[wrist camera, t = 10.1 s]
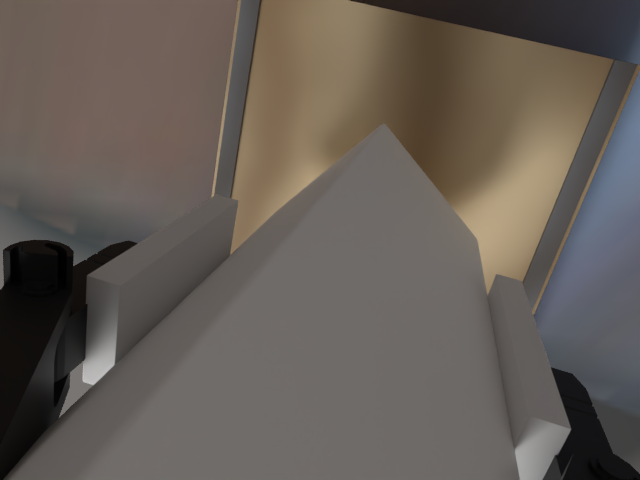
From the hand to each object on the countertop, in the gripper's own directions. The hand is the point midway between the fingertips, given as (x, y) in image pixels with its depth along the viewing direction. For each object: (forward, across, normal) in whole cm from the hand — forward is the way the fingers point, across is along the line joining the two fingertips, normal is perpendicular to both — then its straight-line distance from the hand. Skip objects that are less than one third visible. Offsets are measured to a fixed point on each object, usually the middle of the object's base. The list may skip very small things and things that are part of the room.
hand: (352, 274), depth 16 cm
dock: (+11, 0, 0) cm, 11 cm away
